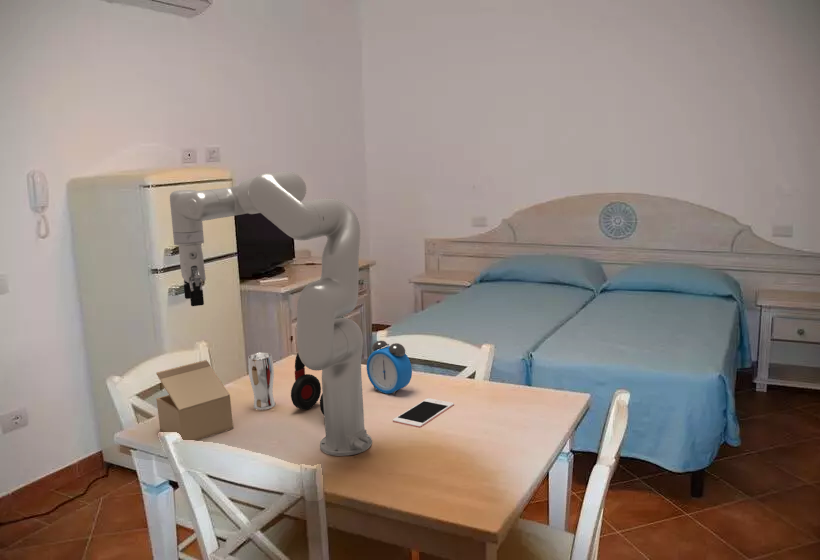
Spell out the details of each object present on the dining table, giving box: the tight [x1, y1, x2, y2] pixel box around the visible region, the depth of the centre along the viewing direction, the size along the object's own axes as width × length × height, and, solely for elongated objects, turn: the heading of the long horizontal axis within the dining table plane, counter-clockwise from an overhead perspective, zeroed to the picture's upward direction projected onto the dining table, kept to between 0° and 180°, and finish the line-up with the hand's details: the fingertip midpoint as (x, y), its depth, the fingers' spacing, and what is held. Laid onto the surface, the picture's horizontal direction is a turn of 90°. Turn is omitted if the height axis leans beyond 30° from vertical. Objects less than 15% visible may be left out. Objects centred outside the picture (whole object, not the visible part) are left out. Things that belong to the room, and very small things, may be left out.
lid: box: [156, 359, 231, 411], centre depth 181 cm, size 14×14×1 cm
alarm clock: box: [366, 340, 413, 396], centre depth 204 cm, size 13×6×15 cm, turn 51°
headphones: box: [290, 352, 324, 416], centre depth 189 cm, size 18×10×20 cm, turn 48°
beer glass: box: [247, 352, 276, 411], centre depth 197 cm, size 7×7×15 cm
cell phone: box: [392, 397, 455, 428], centre depth 188 cm, size 9×18×1 cm, turn 147°
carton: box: [155, 394, 234, 441], centre depth 183 cm, size 14×14×9 cm
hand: (194, 301), depth 185 cm, fingers open, 9 cm apart
